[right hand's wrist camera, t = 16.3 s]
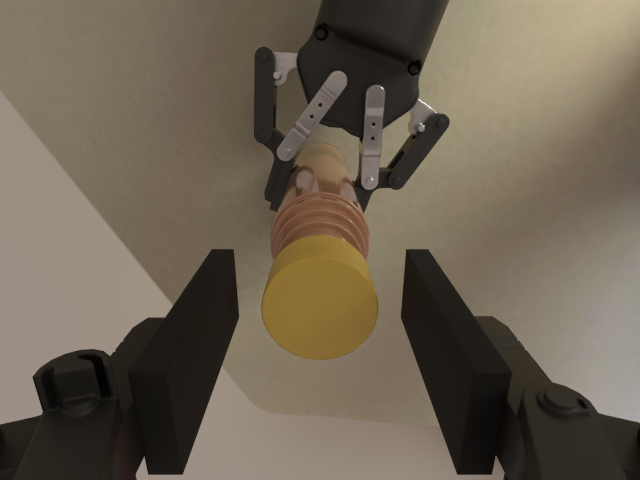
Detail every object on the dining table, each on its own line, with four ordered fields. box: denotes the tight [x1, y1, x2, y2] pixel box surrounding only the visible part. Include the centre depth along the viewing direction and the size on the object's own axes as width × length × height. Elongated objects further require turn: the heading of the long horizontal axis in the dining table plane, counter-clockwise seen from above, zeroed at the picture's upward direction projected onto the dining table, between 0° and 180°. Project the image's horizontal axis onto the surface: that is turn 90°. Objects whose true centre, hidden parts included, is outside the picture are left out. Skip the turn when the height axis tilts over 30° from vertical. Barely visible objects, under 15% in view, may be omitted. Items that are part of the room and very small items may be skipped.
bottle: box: [270, 143, 369, 261], centre depth 24 cm, size 5×5×24 cm
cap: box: [262, 235, 378, 360], centre depth 14 cm, size 4×4×2 cm
